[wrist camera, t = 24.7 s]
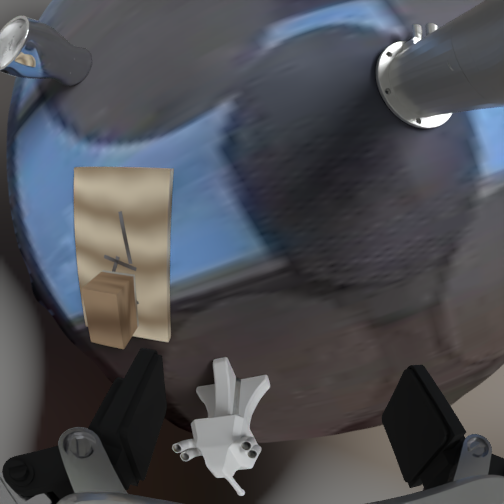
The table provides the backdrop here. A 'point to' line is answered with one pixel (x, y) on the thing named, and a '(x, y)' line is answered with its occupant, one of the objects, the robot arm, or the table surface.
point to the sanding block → (111, 308)
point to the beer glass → (41, 53)
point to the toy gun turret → (226, 423)
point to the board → (127, 236)
